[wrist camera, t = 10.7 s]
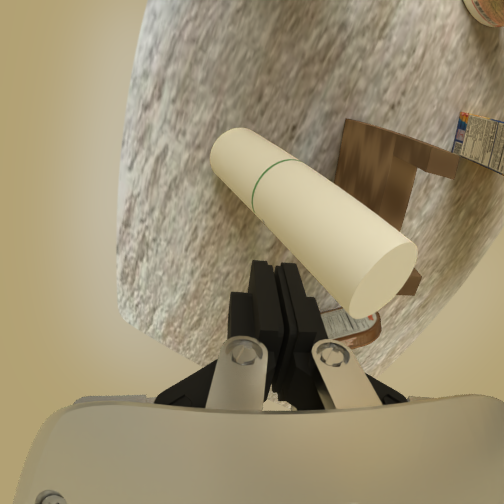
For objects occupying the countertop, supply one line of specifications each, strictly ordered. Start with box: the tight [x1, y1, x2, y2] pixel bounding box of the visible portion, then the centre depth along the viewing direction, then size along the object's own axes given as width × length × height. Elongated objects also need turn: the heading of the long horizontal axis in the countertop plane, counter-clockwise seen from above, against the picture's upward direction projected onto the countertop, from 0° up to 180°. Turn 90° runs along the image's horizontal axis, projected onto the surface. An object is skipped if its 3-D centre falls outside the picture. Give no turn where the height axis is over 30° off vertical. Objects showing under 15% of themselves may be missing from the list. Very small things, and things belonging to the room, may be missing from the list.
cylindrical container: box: [210, 128, 418, 319], centre depth 31 cm, size 7×7×25 cm
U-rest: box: [334, 119, 460, 296], centre depth 33 cm, size 13×3×21 cm, turn 173°
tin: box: [320, 307, 381, 349], centre depth 50 cm, size 15×3×8 cm, turn 104°
